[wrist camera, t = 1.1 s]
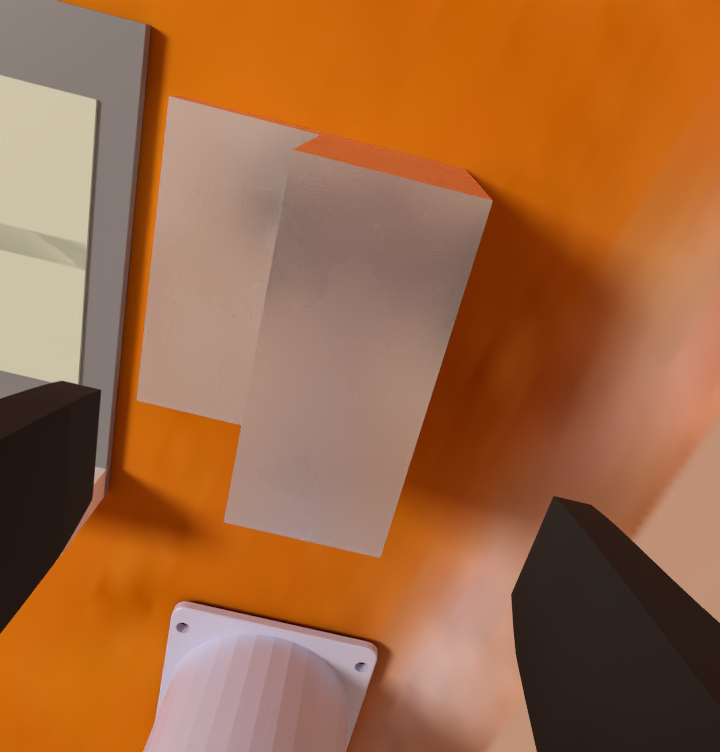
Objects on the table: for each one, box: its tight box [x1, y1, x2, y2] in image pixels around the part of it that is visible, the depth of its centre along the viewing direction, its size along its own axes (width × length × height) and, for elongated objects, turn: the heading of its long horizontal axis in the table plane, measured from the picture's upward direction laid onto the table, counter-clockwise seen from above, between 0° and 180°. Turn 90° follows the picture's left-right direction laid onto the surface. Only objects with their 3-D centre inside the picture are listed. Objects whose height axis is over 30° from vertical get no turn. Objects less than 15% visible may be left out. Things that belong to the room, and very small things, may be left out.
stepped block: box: [137, 96, 493, 558], centre depth 17 cm, size 9×8×6 cm
